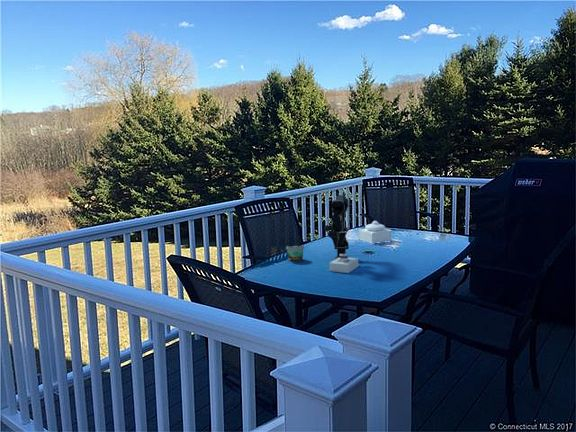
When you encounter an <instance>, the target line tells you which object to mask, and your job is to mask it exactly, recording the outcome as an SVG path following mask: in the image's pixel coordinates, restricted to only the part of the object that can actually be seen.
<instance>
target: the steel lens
mask: <svg viewBox="0 0 576 432" xmlns="http://www.w3.org/2000/svg"><path fill="white" fill-rule="evenodd" d="M339 257H340V262H348V258H349V254H348V253H347V252H346V253H341V254H339Z"/></svg>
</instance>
